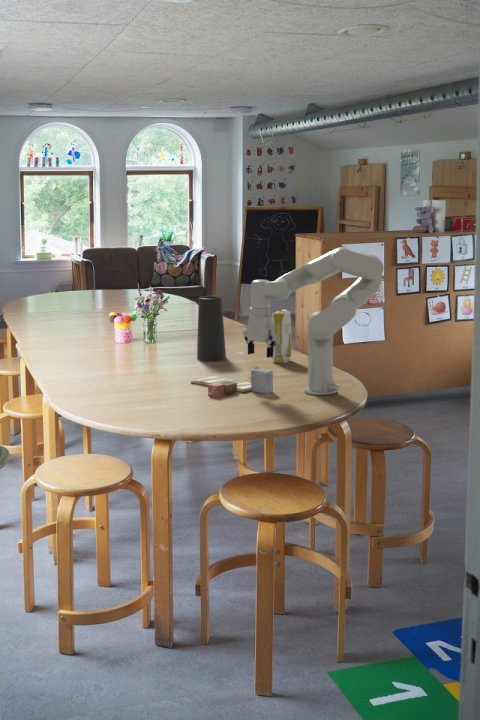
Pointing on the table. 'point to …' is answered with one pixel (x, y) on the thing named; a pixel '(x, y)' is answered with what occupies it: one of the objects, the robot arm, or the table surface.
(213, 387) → the die
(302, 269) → the robot arm
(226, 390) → the stand
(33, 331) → the table surface
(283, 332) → the juice carton
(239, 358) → the table surface
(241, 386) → the board
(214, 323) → the dark tapered cylinder
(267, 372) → the medicine box
